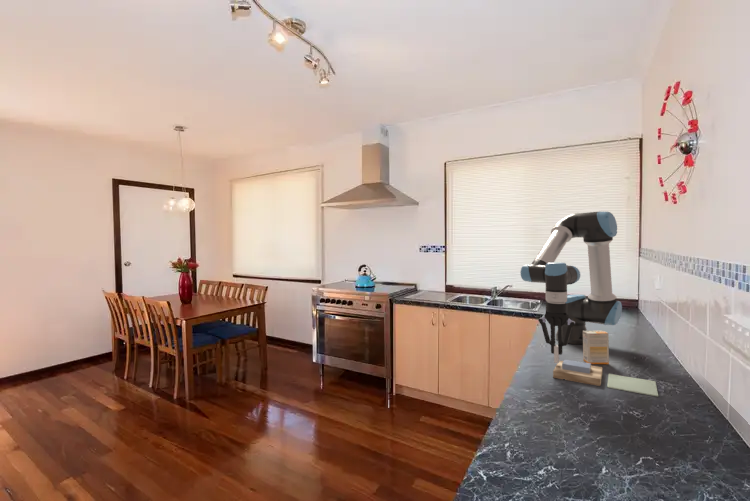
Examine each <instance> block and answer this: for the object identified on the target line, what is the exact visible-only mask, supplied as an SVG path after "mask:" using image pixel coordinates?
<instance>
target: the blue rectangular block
mask: <svg viewBox="0 0 750 501" xmlns="http://www.w3.org/2000/svg"><path fill="white" fill-rule="evenodd" d="M562 361H563V363H562V369H565V370H571V371H577V372H583V373H589V374H590V371H591V366H592V364H591V363H586V362H585V361H583V362H582V361H578V360H571V359H563V360H562Z"/></svg>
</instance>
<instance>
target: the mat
mask: <svg viewBox="0 0 750 501" xmlns="http://www.w3.org/2000/svg"><path fill="white" fill-rule="evenodd" d="M657 387H658V386H657V382H656V380H648V379H643V378H639V377H638V378H637V377H631V376H625V375H621V374H620V375H618V374H613V373H608V377H607V386H606V388H608V389H609V388H610V389H614V390H620V391H625V392H630V393H637V394H640V395H647V396H651V397H652V396H653V397H658V398H659V392H658V388H657Z"/></svg>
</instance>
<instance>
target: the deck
mask: <svg viewBox="0 0 750 501" xmlns="http://www.w3.org/2000/svg"><path fill="white" fill-rule="evenodd" d="M563 361H564V360H560V362H559V363H556V365H555V367H554V369H553V370H552V378H553V379H559V380H563V379H565V381H569V382H570V381H571V382H576V383H581V384H586V385H592V386H597V387H601V384H602V378H603V367H602V366H598V365H591V371H590V374H589V373H583V372H577V371H571V370H565V369H562V363H563Z"/></svg>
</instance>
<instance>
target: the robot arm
mask: <svg viewBox="0 0 750 501" xmlns="http://www.w3.org/2000/svg"><path fill="white" fill-rule="evenodd" d="M617 234H618V224H617V220H616V218H615V216H614V214H613V213H612V212H611V211H602V210H601V211H600V210H599V211H593V212H591V211H590V212H580V213H579V212H577V213H571V214H569V215H567V216H565V217H564V218H562V219H560V220H559V221H558V222H557V223H556V224H555V225H554V226H553V227H552V229H551V231H550V235H549V237H548V239H547V240H546V242H545V243H544V244H543V245H542V247H541V249H540V251H539V252H538V253H537V255H536V256H535V257H534V260H533V261H532V262H531V264H524V265H522V266H521V268H520V278H521V279H522V281H524V282H528V283H540V284H545V301H546V302H545V313H544V315H543V316H542V317H539V318H538V322H539V324H540V325H541V328H542V332H543V337H544V340H545V341H544V342H545V343H546V344H548V345H550V353H551V354H553V363H554V364H557V363H559V362H560V361H561V360H560V356H562V355H563V347H565V346H567V345H568V344H571V345H583V331H588V329H587V327H586V323H590V324H591V323H592V324H596V325H597V324H598V325H604V326H616V325H617V324H619V322H620V319H621V317H622V311H623V305H622V302H621V301H619V300H618V299H617V296H616V295H615V294H614V293H613V285H612V271H611V270H612V269H611V267H612V266H611V255H610V254H611V252H610V244H611V242H612V241H613V240H614V237H616V236H617ZM574 238H582V240H583V243H584V244H586V245H587V256H588V268H589V269H588V270H589V282H590V294H589V295H588V296H586V295H585V294H568V285H573V284H576V283H577V282H578V281H579V280H580V278H581V271H580V269H579V268H578V267H576V266H574V265H567V263H566V262H562V261H561V262H560V261H559V262H558V261H557V262H556V260H557V258H559V255H560V253H561V252H562V250H563V248H564V247H565V246H566V244H567V243H569V242H570V241H571V240H572V239H574ZM546 321H547V323H546ZM547 324H549V325H550V334H549V330H548V327H547ZM556 327H557V331H556ZM556 340H557V342H558V343H557V344H556Z"/></svg>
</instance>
